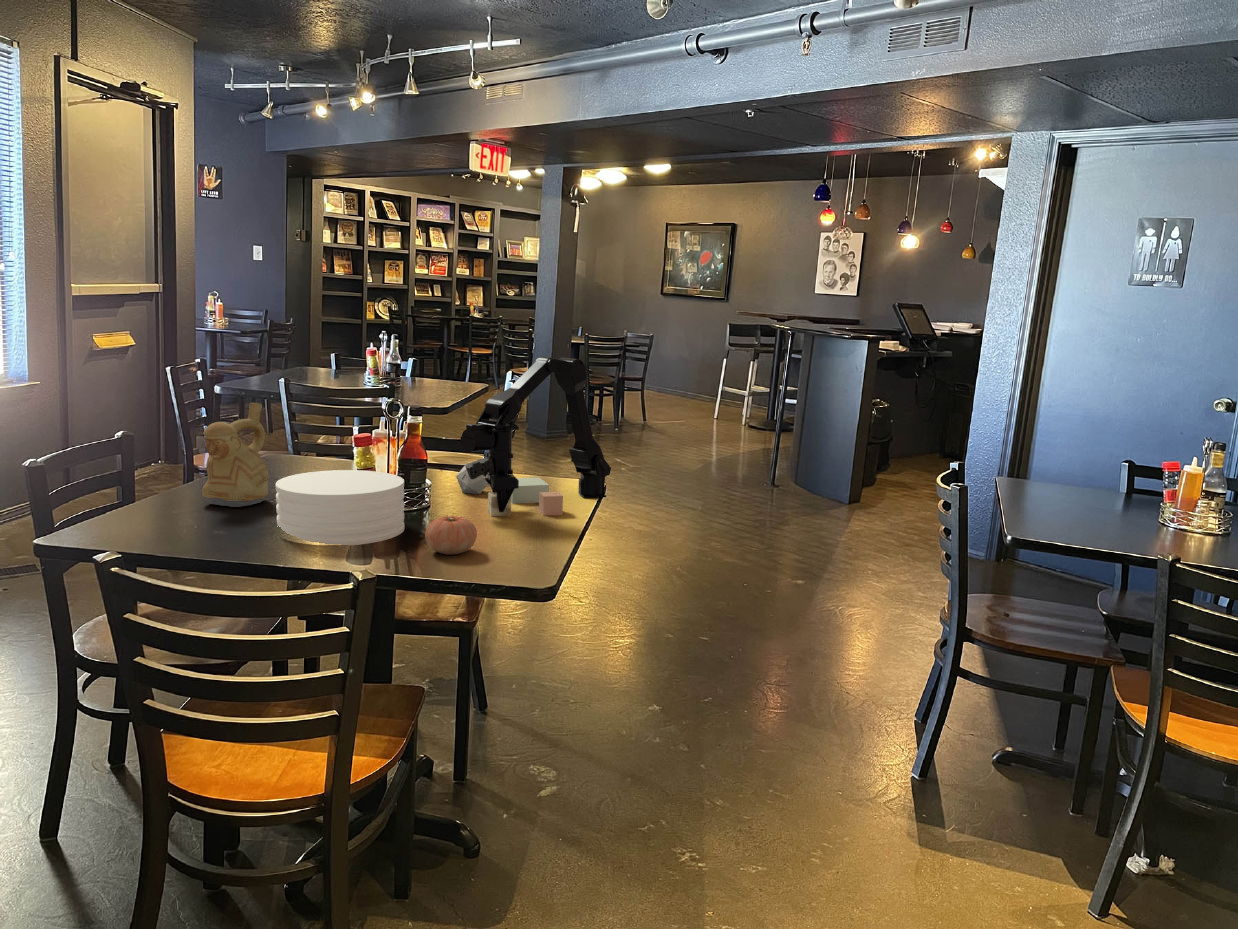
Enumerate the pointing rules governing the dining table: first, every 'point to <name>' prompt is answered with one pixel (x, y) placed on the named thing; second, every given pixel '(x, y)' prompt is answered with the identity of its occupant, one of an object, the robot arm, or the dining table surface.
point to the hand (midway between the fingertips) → (499, 509)
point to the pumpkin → (451, 535)
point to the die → (471, 482)
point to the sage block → (529, 490)
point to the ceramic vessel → (236, 460)
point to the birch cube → (494, 508)
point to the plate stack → (341, 506)
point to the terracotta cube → (550, 503)
